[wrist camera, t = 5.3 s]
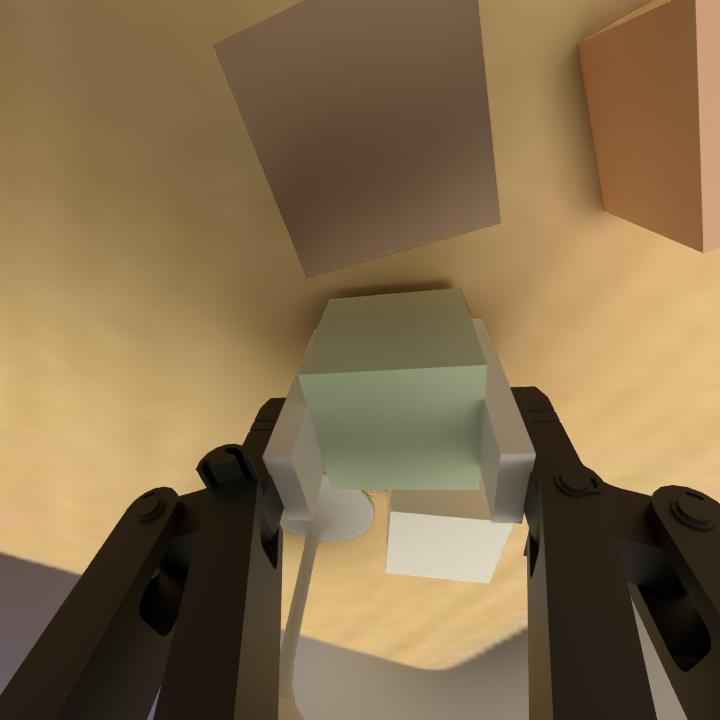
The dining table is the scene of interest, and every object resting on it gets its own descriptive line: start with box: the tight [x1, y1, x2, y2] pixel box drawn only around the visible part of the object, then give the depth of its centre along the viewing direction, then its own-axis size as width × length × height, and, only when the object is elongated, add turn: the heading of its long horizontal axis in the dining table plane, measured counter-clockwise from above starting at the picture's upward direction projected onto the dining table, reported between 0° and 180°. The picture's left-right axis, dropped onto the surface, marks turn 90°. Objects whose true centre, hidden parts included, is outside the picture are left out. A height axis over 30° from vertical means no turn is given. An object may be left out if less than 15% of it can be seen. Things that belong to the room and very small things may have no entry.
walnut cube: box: [214, 0, 501, 277], centre depth 10 cm, size 5×5×5 cm
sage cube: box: [298, 288, 487, 490], centre depth 13 cm, size 5×5×5 cm
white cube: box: [385, 470, 514, 583], centre depth 18 cm, size 5×5×5 cm
